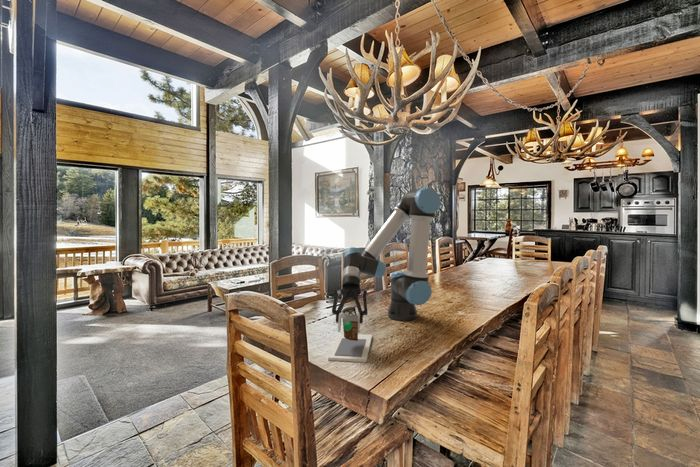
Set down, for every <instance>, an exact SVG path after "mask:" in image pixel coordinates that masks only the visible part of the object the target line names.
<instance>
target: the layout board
mask: <svg viewBox="0 0 700 467" xmlns="http://www.w3.org/2000/svg"><path fill="white" fill-rule="evenodd" d="M372 338H373V335H372V334H362V333H360V334H359V333H358V341H353V340H348V339H346V338H345V337H344V333H339V336H338V337H337V339H336V341H335V342H334V345H333V347H332V349H331V351H330V353H329V355H328V357H327V360H328V361H334V362H335V361H336V362H337V361H339V362H355V363H357V362H358V363H367V361H368V356H369V352H370V348H371V344H372Z"/></svg>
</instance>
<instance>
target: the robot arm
mask: <svg viewBox="0 0 700 467" xmlns="http://www.w3.org/2000/svg"><path fill="white" fill-rule="evenodd" d="M440 207H441V197H440V195H439V193H438V192H437V191H436V190H435V189H433V188H430V187H421V188H416V189H410V190H409V191H407V192H406V193H404V195H402V197H401V198H400V199H399V201H398V202H397V203H396V205H395V206H394V207H393V212H392V213H391V215H390V216H389V217H388V218H387V219H386V221H385V222H384V224H383V225H382V226H381V228H379V230H378V232H377V233H376V234H375V236H374V237H373V238H372V239H371V241H370V242H369V243H368V244H367V246H366V247H365V249H364V250H363V251H362V252H361V250H360V249H359V248H357V247H354V246H353V247H348V248H347V249H346V250H345V251H344V256H343V268H342V280H341V281H342V283H341V288H340V290H337V289H335V290H333V293H334V298H333V303H332V308H331V313H332V315H335V322H336V324H337V331H338V333H341V328H342V318H341V313H342V310H343V309H344V307H345V304H346V303H347V301H351V300H352V301H354V303H355V307H356V308H357V311H358V313H357V316H358V333H360V331H361V330H360V329H361V328H360V327H361V326H360V325H362V324H363V323H364V318H363V317H364V316H367V315H368V303H367V296H368V290H361V274H364V275H367V276H372V277H374V278H378V279H381V278H383V277H384V275H385V274H386V271H387V264H386V263H385V262H384V261H381V260H378V258H379V257H380V256H381V254H382V252H383V251H384V250H385V248H386V247H387V246H388V244H390V242H391V240H392V239H393V238H394V237H395V236H396V234H397V232H398V231H399V230H400V229H401V228H402V227H403V225H404V223H405V222H406V221H409V220H410V219H411V226H410V227H411V228H410V238H409V250H408V260H407V270H405V271H396V272H391V274H390V303H389V306H388V310H387V317H388V318H389V319H391V320H395V321H399V322H401V321H403V322H406V321H413V320H416V319H417V318H418V310H417V308H416V306H422V305H424V304H426V303H427V302H428V301H429V300H430V298H431V297H432V292H433V291H432V286H431V285H430V284H429V279H430V278H429V275H428V273H427V263H428V251H429V243H430V241H429V240H430V232H431V222H432V221H433V220H434V219H435V214H436V212H437V211H438V210H439V208H440ZM340 295H341V296H342V299H341V301H340V302H339V297H340ZM359 296H361V297H362V303H363V309H362V307H361V304H360V300H359V299H358V298H359ZM338 302H339V305H338ZM337 305H338V308H337Z"/></svg>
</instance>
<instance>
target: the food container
mask: <svg viewBox="0 0 700 467" xmlns="http://www.w3.org/2000/svg"><path fill="white" fill-rule="evenodd" d="M341 319H342V325H343V326H342V328H343V334H344V337H345V338H346V339H348V340H353V341H358V334H359V332H358V313H357V311H356V306H349V307H348V306H347V307H346V308H343V309H342V311H341Z"/></svg>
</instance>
